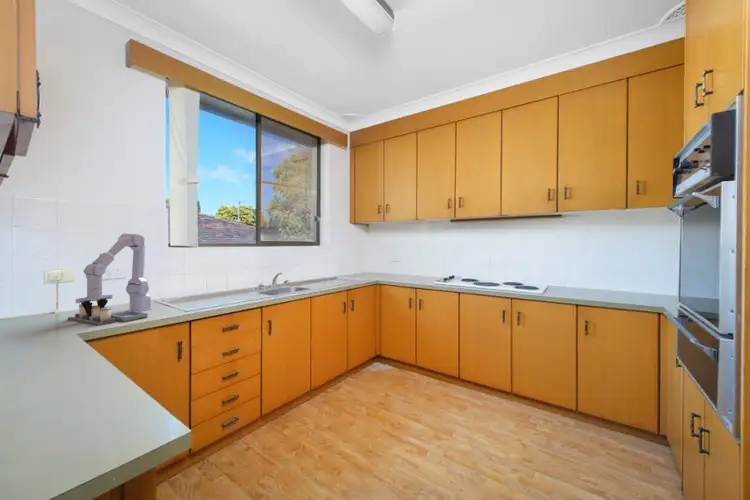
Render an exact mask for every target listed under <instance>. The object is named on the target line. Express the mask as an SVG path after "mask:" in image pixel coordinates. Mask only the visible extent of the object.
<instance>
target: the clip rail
mask: <svg viewBox="0 0 750 500" xmlns="http://www.w3.org/2000/svg"><path fill="white" fill-rule="evenodd" d="M67 318H68V320H69V321H70V320H71V321H76V322H80V323H85V324H90V325H95V326H98V327H99V326H102V325H103V324H104V325H107V324H109V325H110V324H113V323H116V322H119V323H120V322H122V321H121V319H118V318H113V317H111V319H106V320H104V323H100V317H94V318H93V321H90V320H89V316H87V315H83V316H82V319H80V318H79V312H78V313H74V316H68V317H67Z"/></svg>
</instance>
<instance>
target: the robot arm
mask: <svg viewBox="0 0 750 500" xmlns="http://www.w3.org/2000/svg"><path fill="white" fill-rule="evenodd" d="M125 247H129V249H131V250H132V252H133V253H132V267H131V268H132V270H131V278H130V279H129V280H128V281H127V284H126V288H125V291H126V293H127V294H128V296H129V309H126V310H125V312H128V311H137V312H145V311H149V310H152V304H151V303H152V301H151V300H152V299H151V298H152V297H151V295H150V294H148V292H149V289H150V288H149V284H148V280H147V279H146V278H145V277H144V276H145V262H146V261H145V259H146V258H145V257H146V245H145V237H144V236H143V235H142V234H141V233H122V234H121V235H120V236H118V237H117V241H116V242H114V244H113V245H112V246H111V247H110V249H109V250H108V251H107V252H102V253H100V254H99V256H98V257H97V258H96V259H95V260H93V261H92V263H90V264H89V263H88V264H87V265H85V267H84V269H82V270H83V273H84V275H85V278H86V297H81V298H75V304H82V306H83V307H84V309H85V311H86V314H87V316H89V317H90V316H91V308H92V306H93V302H95V301H96V303H97V304H96V305H100V308H104V307H106V306H107V304H108V300H112V299H113V294H104V295H103V275H104V274H105V273H106V269H107V268H108V266H110V264H111V263H112V262H113V261H115V256H116V255H118V254H119V253H120V252H121V251H122V250H124V249H125Z"/></svg>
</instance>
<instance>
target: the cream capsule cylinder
mask: <svg viewBox="0 0 750 500" xmlns="http://www.w3.org/2000/svg"><path fill="white" fill-rule="evenodd" d="M78 313H79V318H80V319H82V316H83V315H87V314H86V311H85V309H84V307H83V306H82V304H81V303H79V304H78Z"/></svg>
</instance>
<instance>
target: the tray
mask: <svg viewBox="0 0 750 500" xmlns="http://www.w3.org/2000/svg"><path fill="white" fill-rule="evenodd" d="M111 317H113V318H118V319H121V321H120V322H123V323H127V322H133V321H137V320H142V319H146V318H148V317H149V316H148V313H147V312H144V311H139V312H137V311H122V312H117V313H111Z"/></svg>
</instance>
